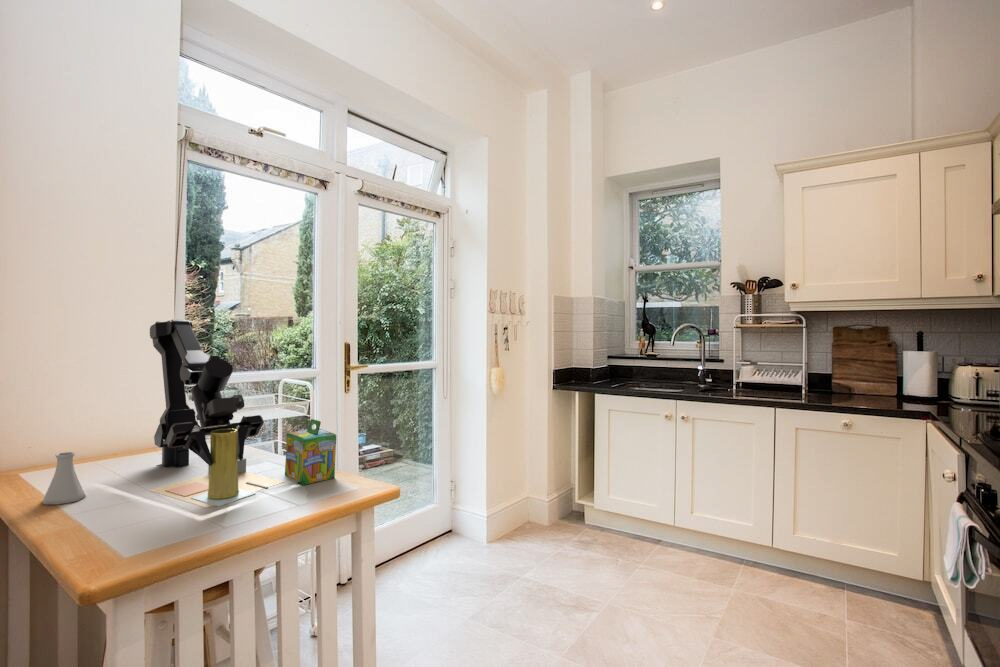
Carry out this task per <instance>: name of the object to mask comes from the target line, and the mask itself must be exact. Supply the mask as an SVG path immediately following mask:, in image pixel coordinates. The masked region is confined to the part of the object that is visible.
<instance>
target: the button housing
mask: <svg viewBox="0 0 1000 667" xmlns="http://www.w3.org/2000/svg"><path fill="white" fill-rule="evenodd" d="M209 469H210V466H209V465H208V473H207V475H208V474H209ZM245 472H247V458H245V457H243V459H242V461H240V460H239V458H238V474H241V473H245Z"/></svg>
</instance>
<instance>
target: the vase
mask: <svg viewBox="0 0 1000 667" xmlns="http://www.w3.org/2000/svg"><path fill="white" fill-rule="evenodd" d="M209 443H210V449H209V451H210V454H211V456H212V461H213V464H212V466H210V469H209V468H208V469H209V488H208V497H209V498H211V499H225V498H230V497H233V496H236V495H237V494H238V493H239V489H238V446H237V443H238V430H237V429H231V428H227V429H217V430H213V431H211V435H210V442H209Z"/></svg>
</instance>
